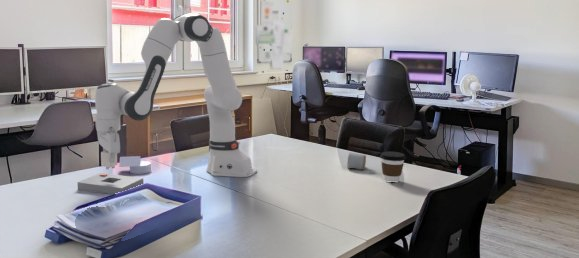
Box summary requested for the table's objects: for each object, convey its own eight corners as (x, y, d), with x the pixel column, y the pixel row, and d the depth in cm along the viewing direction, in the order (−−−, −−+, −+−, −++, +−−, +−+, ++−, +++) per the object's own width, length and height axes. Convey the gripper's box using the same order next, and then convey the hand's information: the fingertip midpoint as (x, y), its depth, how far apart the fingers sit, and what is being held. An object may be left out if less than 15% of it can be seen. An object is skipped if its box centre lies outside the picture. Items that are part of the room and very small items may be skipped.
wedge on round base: (119, 174, 214) (150, 173, 217) (118, 159, 213) (150, 158, 216) (121, 168, 223) (151, 167, 226) (120, 154, 221) (151, 153, 224)
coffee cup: (404, 185, 208) (406, 158, 206) (378, 183, 210) (379, 156, 208) (403, 178, 219) (405, 152, 216) (378, 176, 221) (380, 150, 218)
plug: (117, 167, 195) (116, 148, 194) (110, 170, 192) (110, 150, 190) (108, 166, 197) (107, 147, 195) (101, 169, 193) (100, 149, 191)
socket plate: (143, 185, 200) (143, 176, 199) (122, 195, 186) (121, 186, 186) (101, 180, 205) (100, 171, 204) (77, 189, 192) (77, 180, 191)
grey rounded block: (364, 171, 229) (365, 155, 227) (346, 169, 230) (347, 153, 229) (366, 166, 239) (367, 150, 238) (349, 164, 241) (350, 149, 239)
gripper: (124, 129, 184) (124, 165, 187) (110, 120, 201) (111, 154, 204) (106, 130, 181) (107, 167, 183) (94, 121, 198) (95, 155, 200)
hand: (109, 160), depth 194 cm, fingers closed on plug, 6 cm apart
